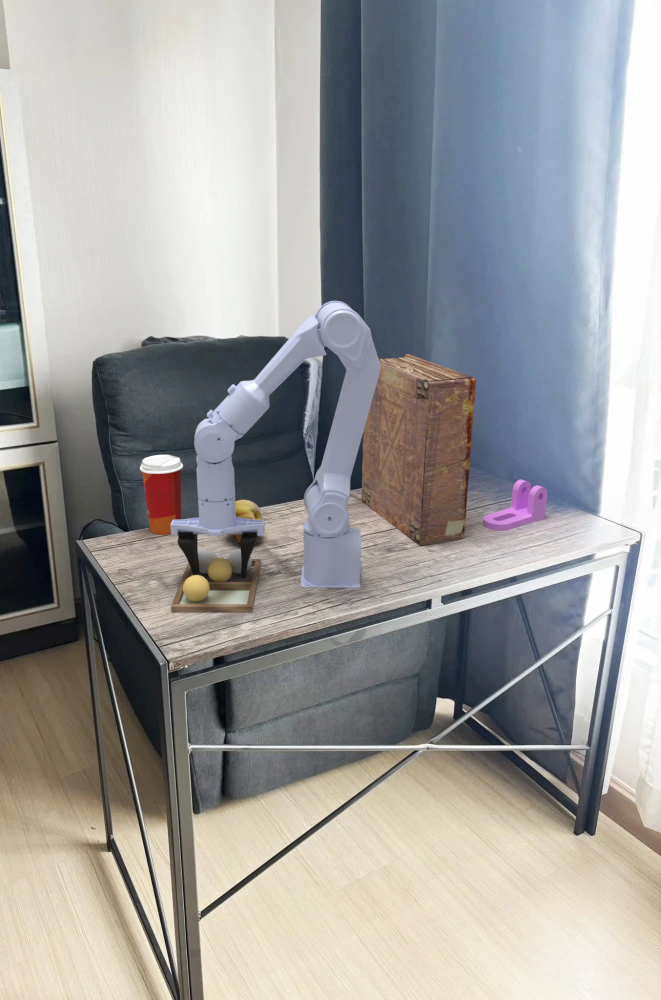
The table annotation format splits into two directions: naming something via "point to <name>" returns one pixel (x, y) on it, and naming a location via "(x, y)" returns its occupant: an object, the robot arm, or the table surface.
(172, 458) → the paper cup
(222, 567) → the ochre ball
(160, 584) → the table surface
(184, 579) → the sorting board
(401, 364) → the book
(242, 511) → the fruit
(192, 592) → the ochre ball
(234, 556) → the grey ball
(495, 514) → the bracket
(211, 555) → the grey ball
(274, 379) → the robot arm
